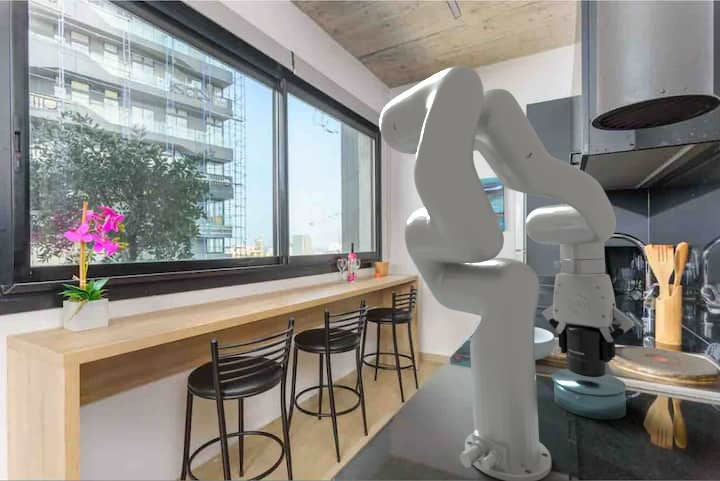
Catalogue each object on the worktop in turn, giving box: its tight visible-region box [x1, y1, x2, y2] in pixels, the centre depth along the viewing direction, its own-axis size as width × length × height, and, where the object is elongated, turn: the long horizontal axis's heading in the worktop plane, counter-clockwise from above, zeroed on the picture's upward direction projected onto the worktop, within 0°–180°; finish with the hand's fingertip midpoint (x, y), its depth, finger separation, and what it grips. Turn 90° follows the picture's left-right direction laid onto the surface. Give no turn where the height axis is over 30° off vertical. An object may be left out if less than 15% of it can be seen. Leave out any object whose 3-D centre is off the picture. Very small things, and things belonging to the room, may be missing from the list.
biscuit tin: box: [551, 368, 627, 420], centre depth 70 cm, size 12×12×5 cm
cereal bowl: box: [534, 326, 555, 362], centre depth 98 cm, size 17×17×7 cm
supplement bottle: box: [565, 324, 608, 377], centre depth 70 cm, size 7×7×12 cm
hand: (586, 355), depth 70 cm, fingers closed on supplement bottle, 6 cm apart
